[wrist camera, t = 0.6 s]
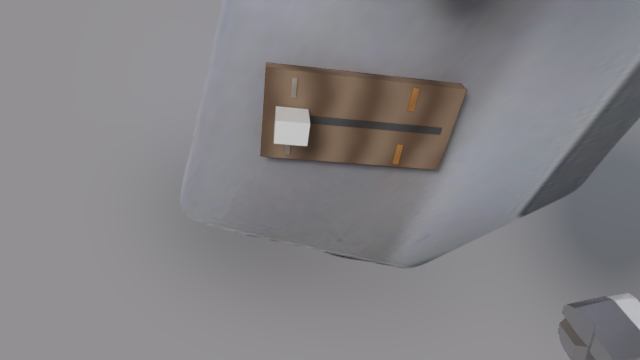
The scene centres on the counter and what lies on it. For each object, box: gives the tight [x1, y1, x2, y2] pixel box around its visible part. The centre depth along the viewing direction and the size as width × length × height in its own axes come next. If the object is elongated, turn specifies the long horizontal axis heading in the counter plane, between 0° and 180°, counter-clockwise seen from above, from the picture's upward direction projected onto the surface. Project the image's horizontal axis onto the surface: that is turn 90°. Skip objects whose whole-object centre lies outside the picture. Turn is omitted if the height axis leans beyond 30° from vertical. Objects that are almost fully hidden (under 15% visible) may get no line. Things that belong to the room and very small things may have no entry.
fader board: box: [260, 62, 467, 170], centre depth 51 cm, size 25×12×2 cm, turn 82°
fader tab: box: [274, 106, 310, 146], centre depth 47 cm, size 4×3×4 cm
